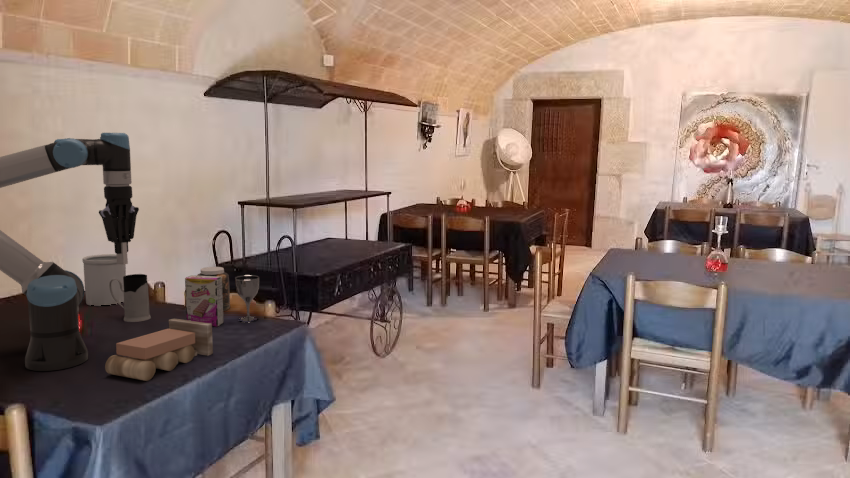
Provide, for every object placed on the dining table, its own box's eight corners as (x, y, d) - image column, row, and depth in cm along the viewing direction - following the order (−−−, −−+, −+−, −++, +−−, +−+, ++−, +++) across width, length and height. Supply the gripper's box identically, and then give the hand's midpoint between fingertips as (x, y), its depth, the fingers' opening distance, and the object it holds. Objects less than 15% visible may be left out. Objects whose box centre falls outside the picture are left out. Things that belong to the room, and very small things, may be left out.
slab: (145, 359, 164) (145, 348, 164) (116, 354, 168) (116, 343, 168) (195, 343, 181) (195, 332, 180) (168, 338, 184) (167, 328, 184)
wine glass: (235, 317, 224) (234, 275, 222) (258, 315, 227) (257, 274, 225) (237, 323, 217) (236, 280, 215) (261, 321, 219) (260, 279, 217)
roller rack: (144, 384, 162) (142, 349, 160) (102, 376, 167) (100, 343, 165) (212, 353, 186) (211, 323, 184) (174, 347, 191) (173, 318, 189)
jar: (191, 312, 231) (190, 271, 228) (203, 304, 242) (202, 265, 240) (224, 312, 230) (222, 272, 228) (234, 304, 242) (233, 266, 240)
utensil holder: (122, 295, 254) (119, 252, 252) (133, 303, 243) (130, 257, 240) (81, 301, 245) (78, 256, 242) (90, 309, 233) (87, 262, 231)
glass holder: (141, 322, 217) (139, 279, 214) (103, 320, 219) (100, 277, 217) (156, 315, 225) (154, 274, 223) (119, 313, 227) (117, 272, 225)
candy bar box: (186, 325, 213) (183, 277, 211) (192, 321, 218) (190, 274, 216) (218, 327, 212) (216, 279, 210) (224, 323, 217) (222, 275, 215)
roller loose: (184, 366, 177) (179, 351, 175) (154, 361, 181) (149, 346, 179) (196, 356, 181) (191, 341, 179) (166, 351, 185) (161, 337, 183)
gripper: (109, 187, 181) (114, 268, 185) (144, 184, 193) (148, 261, 197) (89, 186, 184) (94, 266, 187) (125, 183, 196) (129, 259, 199)
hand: (122, 263), depth 192 cm, fingers closed
